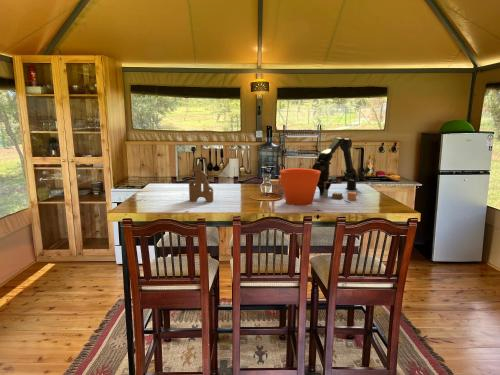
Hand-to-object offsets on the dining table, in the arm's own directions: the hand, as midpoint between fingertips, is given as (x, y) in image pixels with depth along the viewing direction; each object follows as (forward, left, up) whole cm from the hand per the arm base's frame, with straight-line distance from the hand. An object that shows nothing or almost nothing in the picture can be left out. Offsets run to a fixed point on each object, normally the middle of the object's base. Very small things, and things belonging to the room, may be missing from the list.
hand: (323, 194), depth 237 cm
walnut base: (-4, +9, -1) cm, 10 cm away
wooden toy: (+77, -30, -2) cm, 83 cm away
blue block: (0, 0, -1) cm, 1 cm away
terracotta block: (-8, +17, -1) cm, 19 cm away
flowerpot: (+27, +6, -2) cm, 28 cm away
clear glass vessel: (+18, -23, -2) cm, 30 cm away
